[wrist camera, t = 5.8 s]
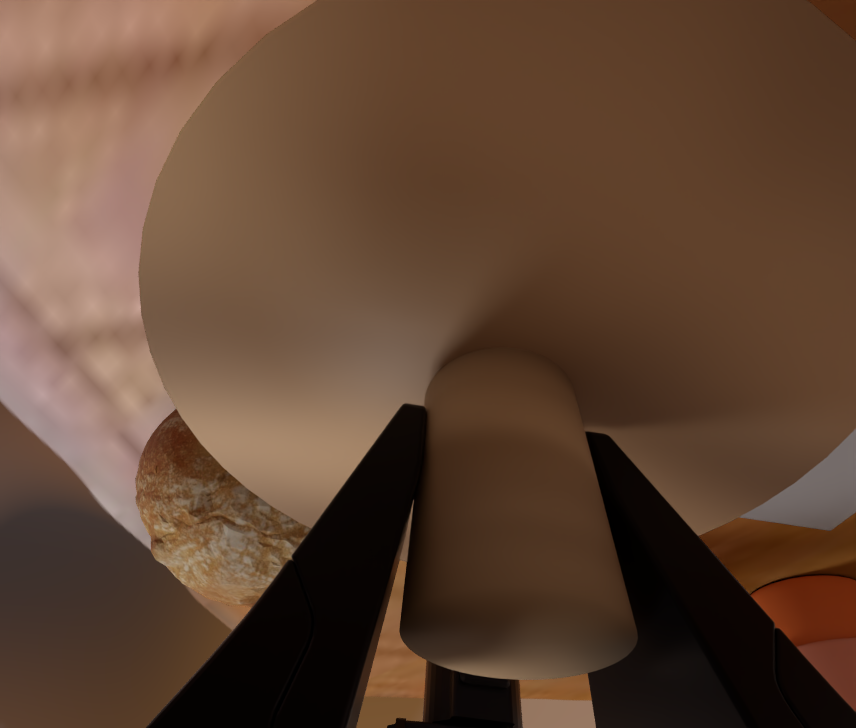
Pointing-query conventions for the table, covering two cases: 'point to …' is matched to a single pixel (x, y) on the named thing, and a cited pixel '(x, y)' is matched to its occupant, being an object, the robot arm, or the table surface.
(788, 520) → the mat
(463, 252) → the lid
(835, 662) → the cup with straw
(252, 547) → the bread roll
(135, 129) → the table surface
